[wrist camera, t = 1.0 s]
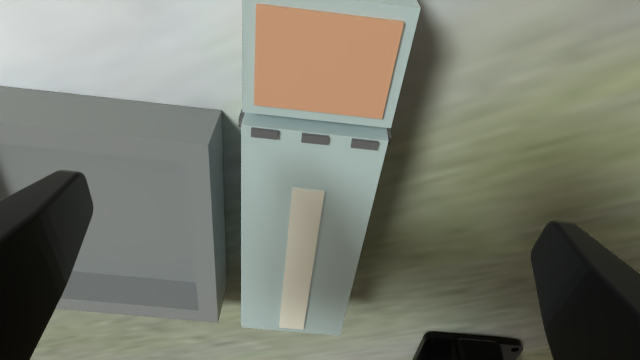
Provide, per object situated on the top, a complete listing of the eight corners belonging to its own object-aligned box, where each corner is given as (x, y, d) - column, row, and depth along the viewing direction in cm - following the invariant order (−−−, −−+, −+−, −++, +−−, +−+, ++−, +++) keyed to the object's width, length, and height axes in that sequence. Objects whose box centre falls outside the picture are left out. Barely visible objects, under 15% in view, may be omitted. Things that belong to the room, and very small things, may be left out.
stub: (381, 74, 18) (391, 130, 15) (258, 60, 18) (241, 114, 15) (403, -30, 16) (421, 10, 13) (260, -49, 16) (241, -12, 12)
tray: (226, 284, 27) (217, 322, 25) (20, 265, 26) (-6, 303, 24) (221, 110, 19) (207, 144, 17) (-68, 78, 19) (-117, 110, 17)
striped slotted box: (342, 273, 26) (342, 338, 23) (250, 264, 26) (237, 329, 23) (383, 86, 18) (393, 143, 15) (253, 71, 18) (235, 126, 15)
